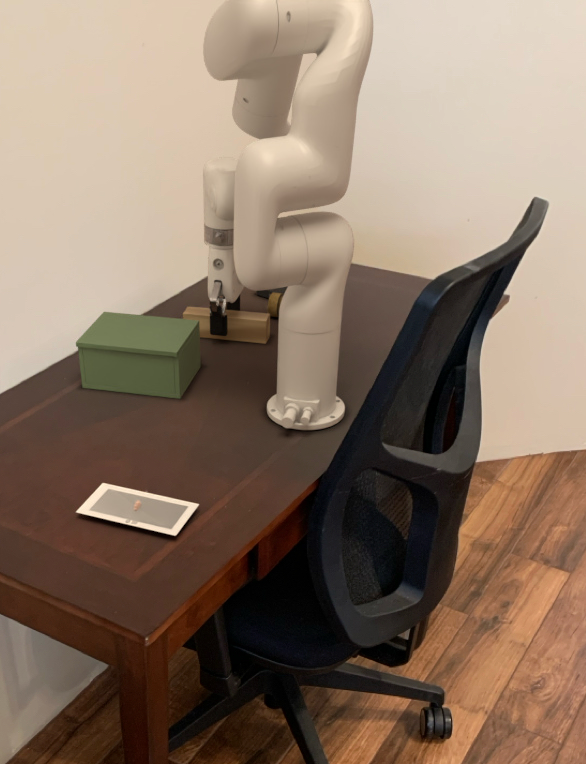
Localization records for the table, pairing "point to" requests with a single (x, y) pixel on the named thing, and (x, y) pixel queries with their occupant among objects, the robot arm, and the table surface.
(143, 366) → the box
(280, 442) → the table surface
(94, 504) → the touchpad
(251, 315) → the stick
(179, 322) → the box lid
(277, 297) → the gavel
